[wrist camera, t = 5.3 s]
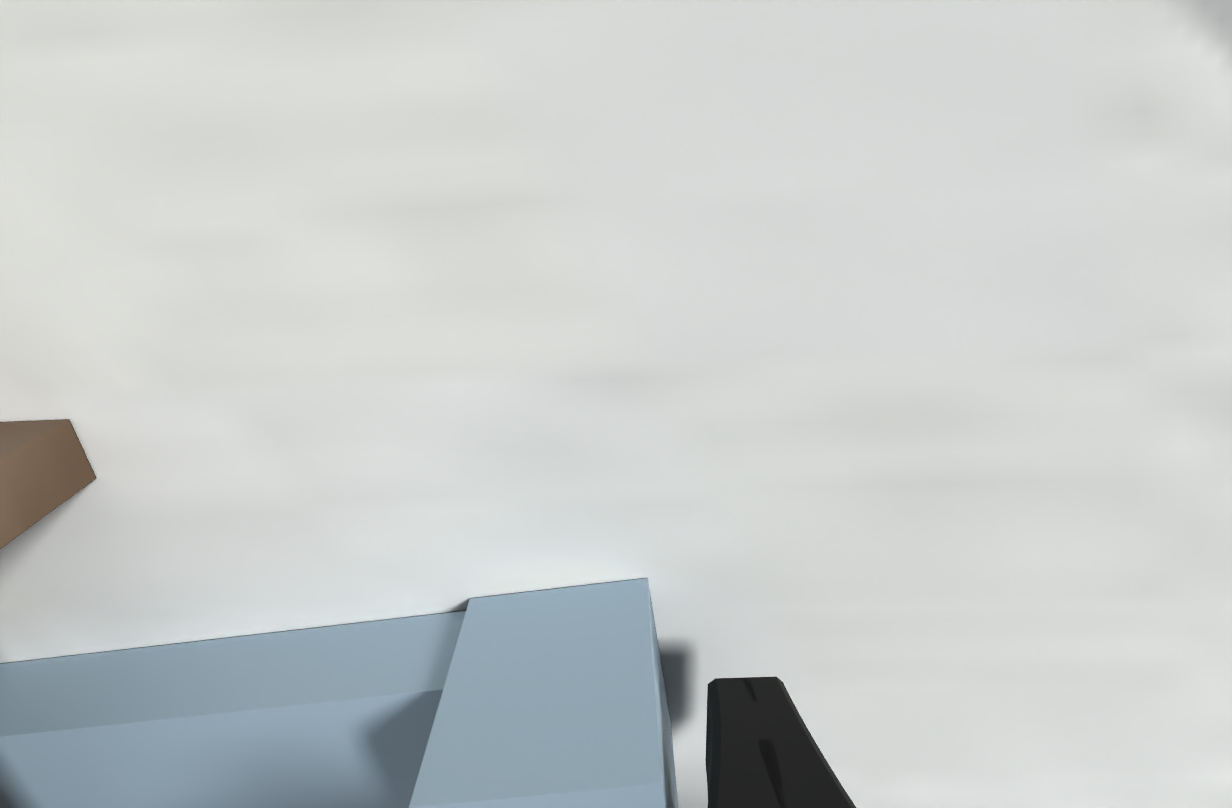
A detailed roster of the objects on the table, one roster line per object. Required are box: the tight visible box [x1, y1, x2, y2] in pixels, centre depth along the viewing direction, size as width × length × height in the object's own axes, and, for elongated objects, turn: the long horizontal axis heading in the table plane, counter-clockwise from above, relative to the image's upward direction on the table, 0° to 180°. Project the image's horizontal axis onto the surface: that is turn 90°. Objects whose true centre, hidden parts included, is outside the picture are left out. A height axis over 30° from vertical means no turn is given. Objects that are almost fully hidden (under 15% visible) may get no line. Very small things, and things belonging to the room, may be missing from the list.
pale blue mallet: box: [0, 578, 678, 808], centre depth 10 cm, size 4×16×4 cm, turn 98°
